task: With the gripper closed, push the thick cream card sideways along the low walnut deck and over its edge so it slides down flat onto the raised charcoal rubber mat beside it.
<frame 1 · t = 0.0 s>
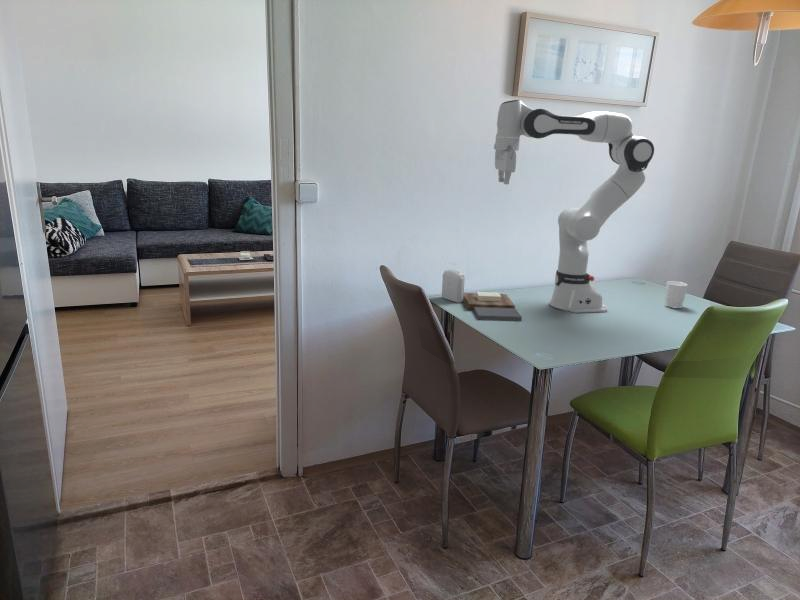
hand: (503, 183, 221), 48 cm above the table, tool pointing down, fingers open, 8 cm apart
charcoal mat: (497, 315, 219), on the table
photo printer: (452, 300, 237), on the table
white cup: (672, 307, 242), on the table
walnut deck: (487, 304, 232), on the table
cream card: (488, 299, 231), point 2 cm above the table, touching walnut deck
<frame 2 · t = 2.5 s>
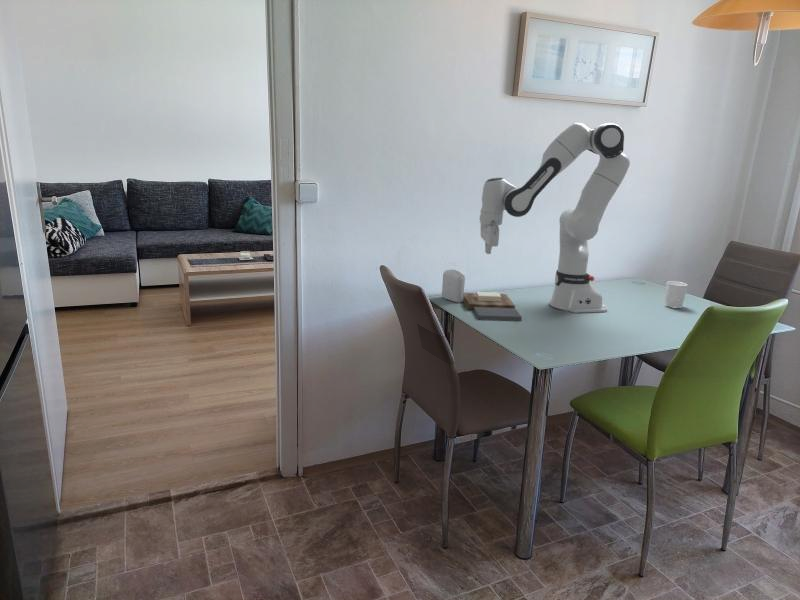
hand: (487, 253, 234), 19 cm above the table, tool pointing down, fingers closed
nothing on the table moved.
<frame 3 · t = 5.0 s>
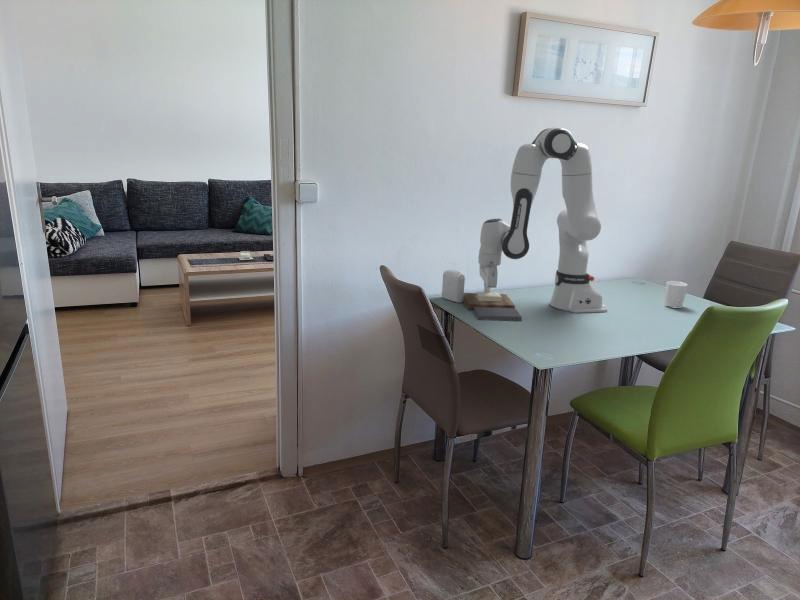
hand: (486, 292, 235), 4 cm above the table, tool pointing down, fingers closed
cream card: (488, 299, 231), point 3 cm above the table, touching gripper
everything else where it was.
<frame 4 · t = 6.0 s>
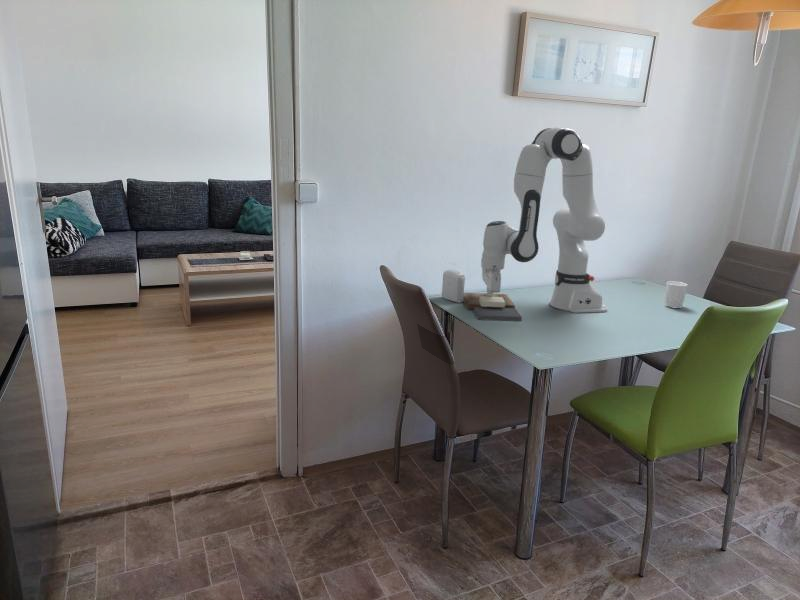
hand: (489, 297, 228), 4 cm above the table, tool pointing down, fingers closed
cream card: (491, 304, 224), point 3 cm above the table, touching gripper
everything else where it was.
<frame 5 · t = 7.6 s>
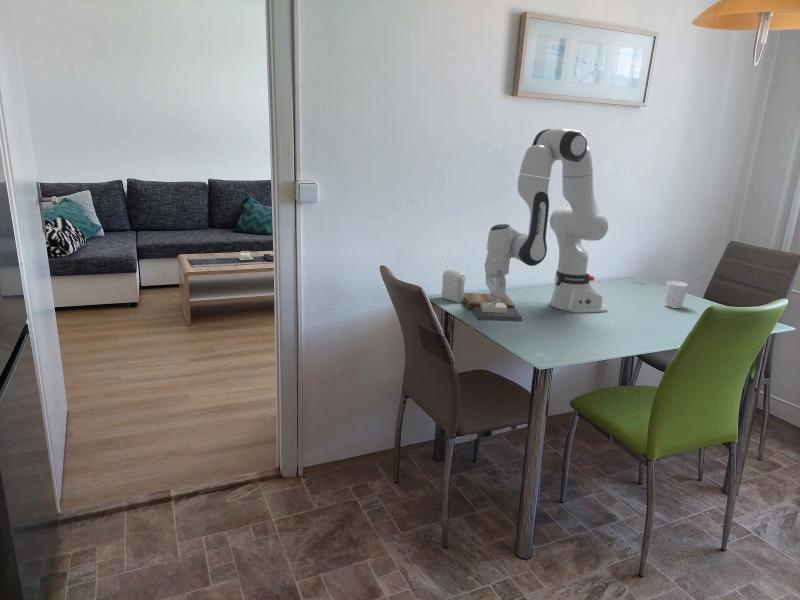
hand: (493, 303, 221), 4 cm above the table, tool pointing down, fingers closed
cream card: (493, 309, 221), point 1 cm above the table, touching charcoal mat
everything else where it was.
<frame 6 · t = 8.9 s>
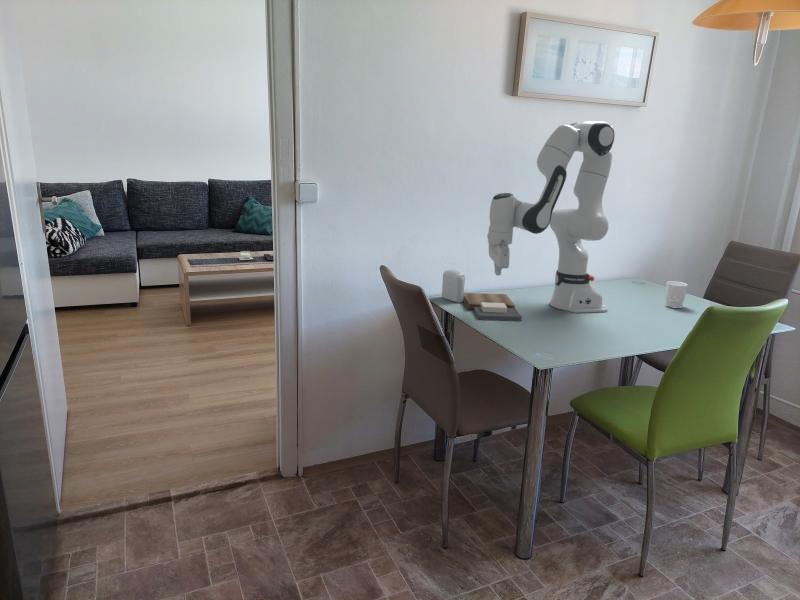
hand: (497, 274, 217), 15 cm above the table, tool pointing down, fingers closed
nothing on the table moved.
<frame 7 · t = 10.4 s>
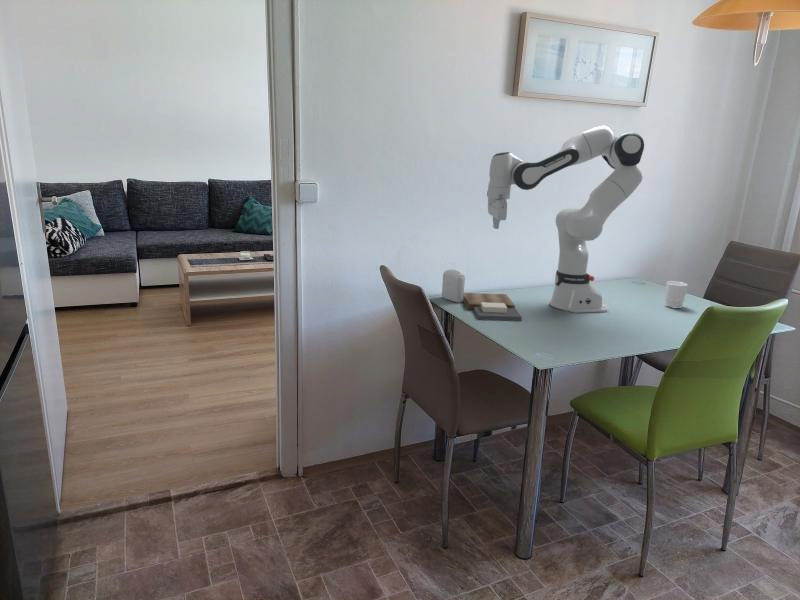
hand: (495, 228, 236), 29 cm above the table, tool pointing down, fingers closed
nothing on the table moved.
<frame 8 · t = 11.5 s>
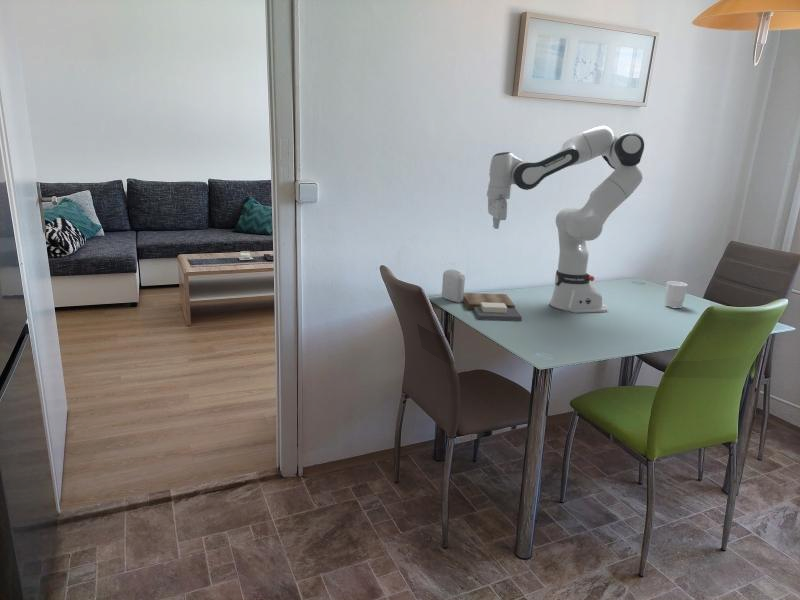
hand: (495, 228, 236), 29 cm above the table, tool pointing down, fingers closed
nothing on the table moved.
at the end: cream card inside the target area (2.8 cm from its centre), point 1.5 cm above the table; cream card tilted 0° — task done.
